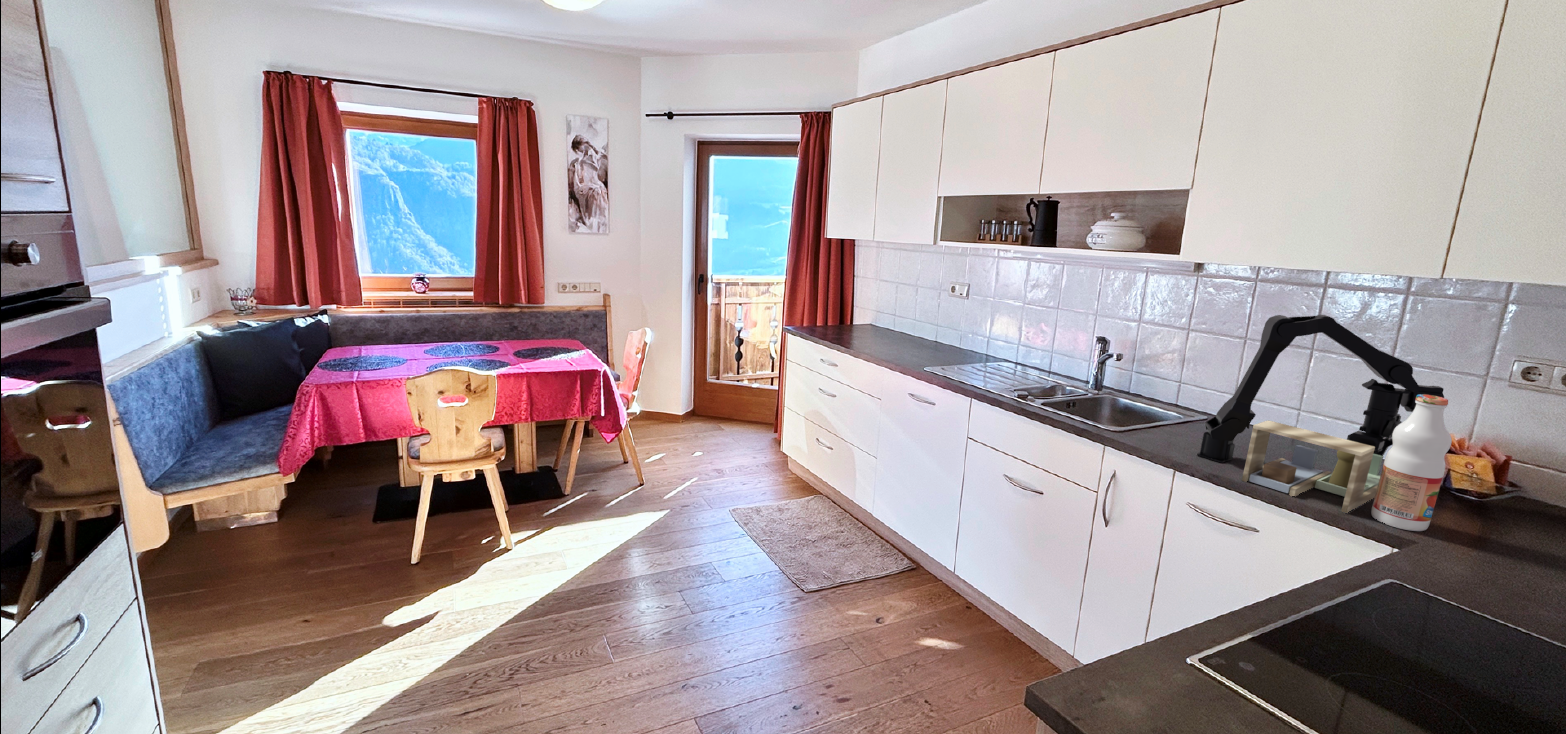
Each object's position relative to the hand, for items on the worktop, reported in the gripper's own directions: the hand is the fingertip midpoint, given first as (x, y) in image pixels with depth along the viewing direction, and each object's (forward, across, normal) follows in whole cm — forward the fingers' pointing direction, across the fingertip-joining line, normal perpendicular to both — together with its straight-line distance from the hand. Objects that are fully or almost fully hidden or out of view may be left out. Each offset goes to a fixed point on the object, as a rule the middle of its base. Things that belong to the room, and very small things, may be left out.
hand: (1367, 468), depth 170 cm
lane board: (+3, -20, +5) cm, 20 cm away
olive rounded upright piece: (+3, -15, 0) cm, 16 cm away
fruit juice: (+3, -24, -13) cm, 28 cm away
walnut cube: (+3, -25, +10) cm, 27 cm away
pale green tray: (+3, -9, 0) cm, 10 cm away
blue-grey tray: (+3, -20, +10) cm, 22 cm away
